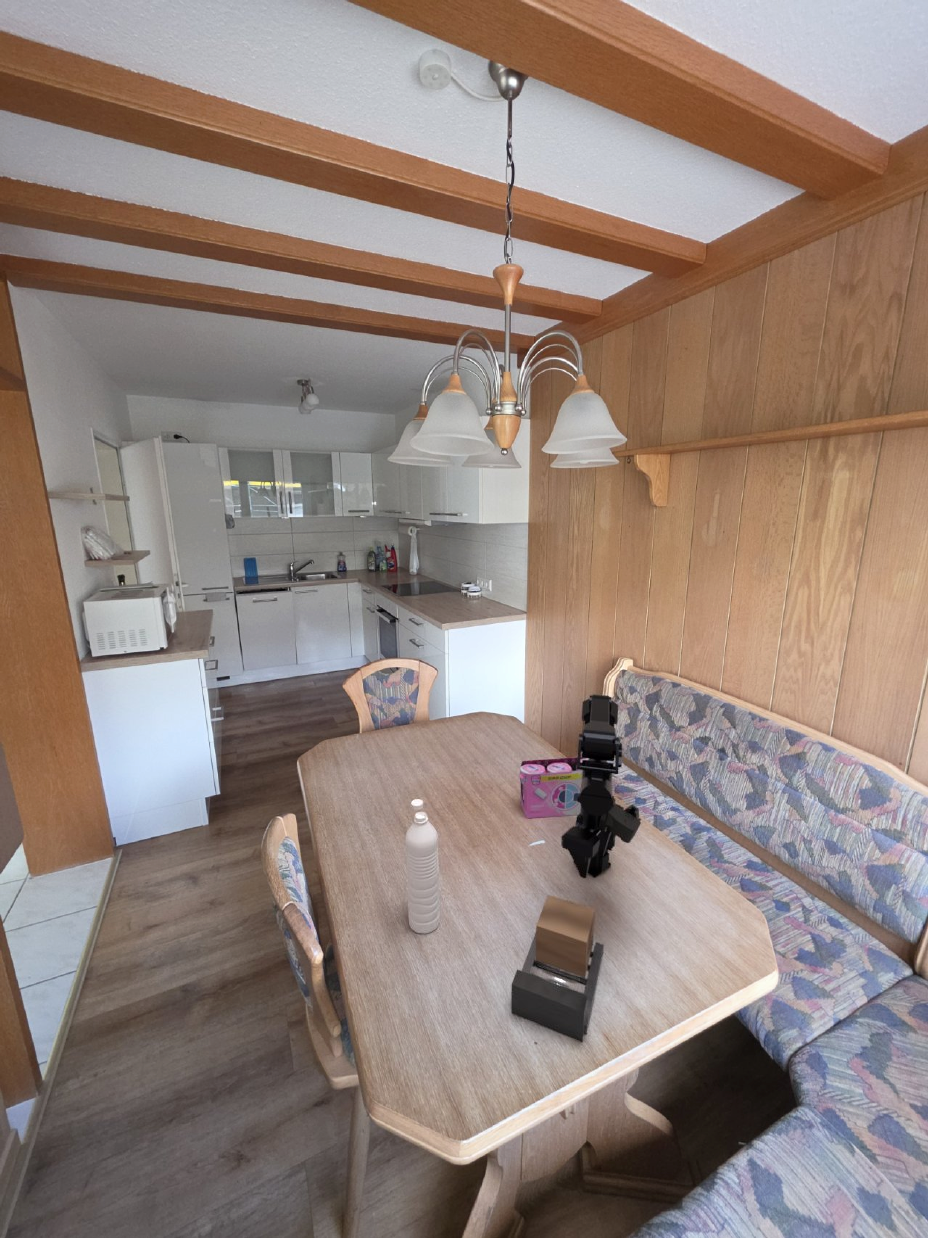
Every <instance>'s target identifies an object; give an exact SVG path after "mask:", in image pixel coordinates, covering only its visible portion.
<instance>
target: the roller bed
mask: <svg viewBox="0 0 928 1238" xmlns="http://www.w3.org/2000/svg"><path fill="white" fill-rule="evenodd" d="M604 948H605V945H604V943H600V942H596V941H595V943H593V946H592V950H591V954H590V958H589V963H588V967H587V971H586V976H585V978H584V977H581V976H578V975H576V974H573V973H570V972H567V971H565V970H562V969H559V968H556V967H554V966H551V965H548V964H545V963H543V962H540V961H537V960H535V959H536V932H535V934H534V935H533V939H532V942H531V944H530V948H529V949H528V951H527V955H526V958H525V961H524V963H523V966H522V969H521V970H519V969H516V971H515V974H514V977H513V980H512V982H511V996H510V997H511V999H510V1001H511V1002H510V1003H511V1004H510V1005H511V1007H510V1008H511V1009H510V1010H511V1012H510V1013H511V1014H513V1015H516V1016H518V1017H520V1018H522V1019H525V1020H527V1021H528V1022H532V1023H534V1024H537V1025H539V1026H541V1027H545V1028H546V1029H549V1030H551V1031H553V1032H556V1033H559V1034H561V1035H564V1036H565V1037H568V1038H570V1039H572V1040H576V1041H577V1042H580V1043H583V1042H584V1037H585V1035H586V1036H587V1034H588V1029H589V1025H590V1018H591V1015H592V1010H593V1005H594V1000H595V994H596V990H597V986H598V980H599V976H600V970H601V965H602V961H603V956H604V951H605V950H604ZM545 969H546V970H545ZM567 977H568V978H567Z"/></svg>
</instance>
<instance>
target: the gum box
mask: <svg viewBox="0 0 928 1238" xmlns="http://www.w3.org/2000/svg"><path fill="white" fill-rule="evenodd" d="M577 758H578V756H573V757H558V758H545V759H541V758H540V759H530V760H528V759H527V760H522V761H521V762H520V768H519V774H518V775H519V780H520V783H519V784H520V805H521V808H522V811H523V813H524V816H525V818H526V819H536V818H552V817H555V818H556V817H564V816H578V815H579V814H580V809H581V804H580V802H577V798H578V796H579V795H580V790H581V782H582V770H579V769H577ZM582 760H589V758H582V756H581V760H580V762H582Z"/></svg>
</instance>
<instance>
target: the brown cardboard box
mask: <svg viewBox="0 0 928 1238" xmlns="http://www.w3.org/2000/svg"><path fill="white" fill-rule="evenodd" d="M595 917H596V908H595V909H594V908H592V907H590V906H586V905H582V904H579V903H576V902H572V901H569V900H566V899H564V898H563V899H562V898H559V897H556V896H553V895H551V894H547V896H546V898H545V902H544V905H543V907H542V910H541V913H540V914H539V918H538V919H537V920H538V921H537V922H536V926H535V933H536V959H535V960H537V961H540V962H543V963H545V964H548V965H551V966H554V967H556V968H559V969H562V970H565V971H567V972H570V973H573V974H576V975H578V976H581V977H584V978H585V976H586V971H587V970H588V969H587V967H588V963H589V958H590V957H591V956H590V954H591V950H592V946H593V944H594V932H595Z"/></svg>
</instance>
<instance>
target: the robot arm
mask: <svg viewBox="0 0 928 1238" xmlns="http://www.w3.org/2000/svg"><path fill="white" fill-rule="evenodd" d="M581 707H582V708H581V722H583V724H584V725H583V727H582V728H583V729H582V733H578V744H577V745H578V748H577V757H578V758H577V769H579V770H582V782H581V790H580V795H579V796H578V798H577V802H580V804H581V809H580V814H579V815H576V820H575V826H574V825H573V826H571V827H570V828H568V830H566V831H565V832H564V833H563V834H562V835H561V843H560V844H561V845H560V846H561V847H562V849H564V850H567V851H568V853H569V854H570V857H571V858H572V860H573V861H572V863H573V864H574V865H575V867H576V870H577V872H578V873H579V876H580V877H581V878H584V879H587V876H588V875H589V876H591V877H592V878H597V877H598V876H599V875H601V874H602V873H604V872H605V871H607V870H608V869H609V868H611V867H612V863H611V862H610V853H609V851H610V852H612V851H613V848H614V847H616V846H615V845H616V836H617V837H618V838H619V839H620V840H621V842H624V843H626V844H630V842H631V841H632V840H633V839H634V837H635V836H636V835H637V832H638V830H639V828H640V826H641V824H642V823H641V821H642V819H641V817H640V812H639V811H640V810H639V808H638V807H637V806H635V805H634V804H631V805H629V806H628V807H626V808H625V807H624V806H621V805H620V804H617V803H616V798H615V796H614V795H613V782H612V781H613V775H619V769H620V768H622V766H623V744H622V742H621V739H620V737H617V736H616V728H615V725H618V720H619V704H618V703H616V702H615V701H613V697H612V696H610V695H604V694H593V693H592V694H591V695H590V694H589V698H587V699H585V700H584V701H582V705H581ZM581 757H582V758H589V760H582V762H580V760H581ZM613 762H614V763H615V764H614V763H613Z"/></svg>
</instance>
